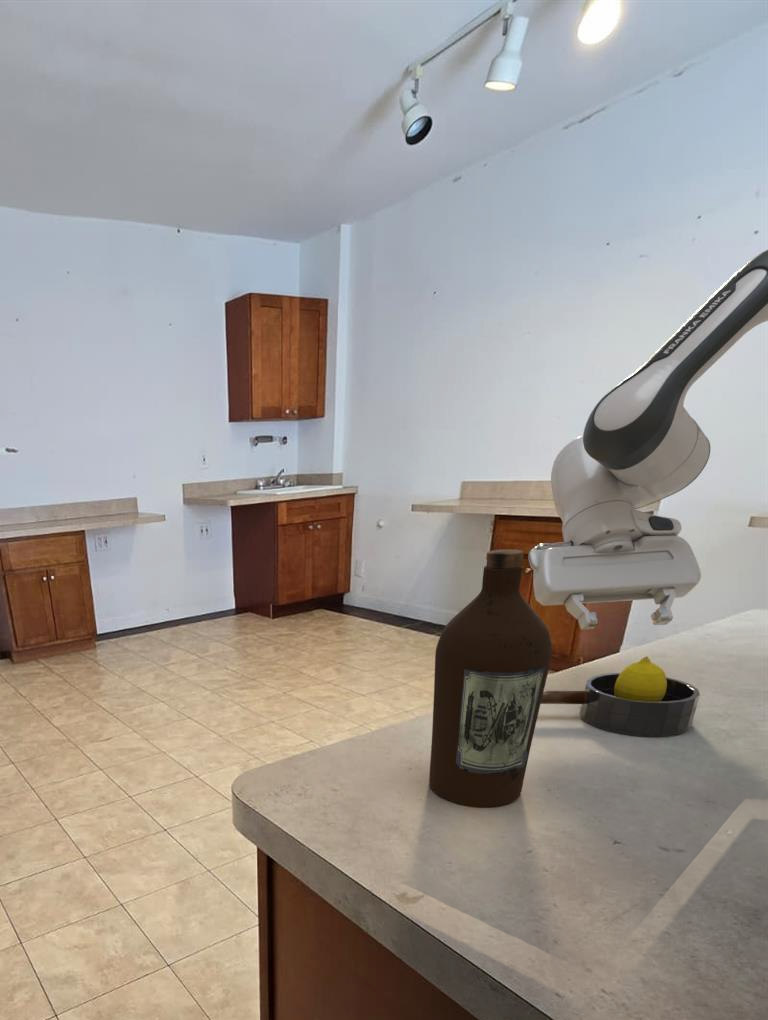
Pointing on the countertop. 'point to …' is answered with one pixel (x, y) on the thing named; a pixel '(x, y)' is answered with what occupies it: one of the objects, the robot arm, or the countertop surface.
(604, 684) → the pan
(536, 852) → the countertop surface
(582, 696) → the pan handle
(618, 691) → the fruit
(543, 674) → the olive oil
